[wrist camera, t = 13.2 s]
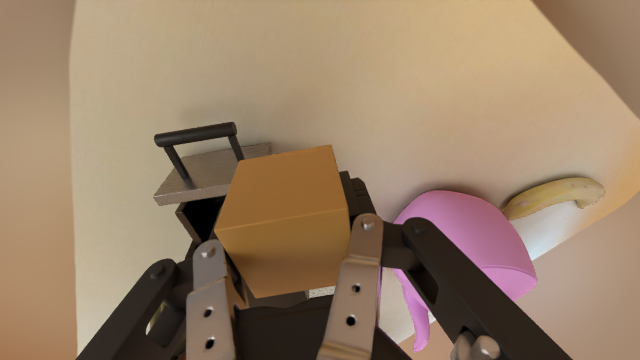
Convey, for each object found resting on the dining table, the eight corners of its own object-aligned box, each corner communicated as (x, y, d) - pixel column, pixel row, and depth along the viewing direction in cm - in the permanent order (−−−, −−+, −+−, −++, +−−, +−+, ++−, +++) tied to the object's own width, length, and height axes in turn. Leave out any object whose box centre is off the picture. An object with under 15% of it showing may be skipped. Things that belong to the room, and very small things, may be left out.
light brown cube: (265, 224, 16) (255, 299, 12) (238, 159, 13) (212, 230, 9) (340, 211, 16) (356, 282, 11) (331, 143, 13) (348, 207, 9)
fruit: (515, 176, 36) (533, 190, 33) (608, 170, 36) (633, 183, 34) (495, 211, 40) (509, 226, 37) (579, 204, 41) (599, 218, 38)
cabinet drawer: (160, 118, 25) (119, 152, 19) (257, 101, 25) (246, 131, 19) (225, 232, 36) (211, 277, 30) (292, 221, 36) (292, 264, 30)
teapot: (403, 159, 32) (470, 252, 20) (506, 200, 38) (605, 289, 26) (329, 258, 43) (343, 356, 31) (419, 277, 50) (459, 364, 38)
